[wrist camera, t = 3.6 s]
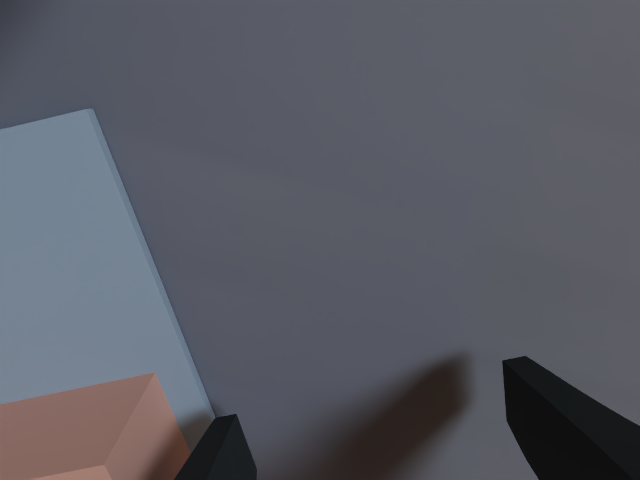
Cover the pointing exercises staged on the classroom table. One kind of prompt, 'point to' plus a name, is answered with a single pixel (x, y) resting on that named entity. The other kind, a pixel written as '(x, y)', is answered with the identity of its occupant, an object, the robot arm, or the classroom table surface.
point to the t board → (82, 275)
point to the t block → (93, 434)
